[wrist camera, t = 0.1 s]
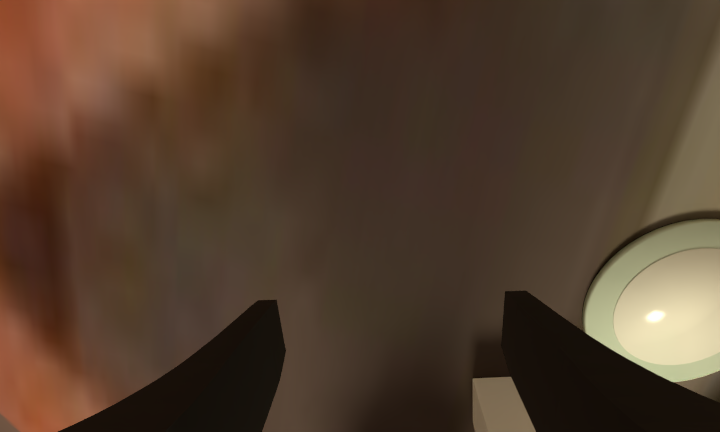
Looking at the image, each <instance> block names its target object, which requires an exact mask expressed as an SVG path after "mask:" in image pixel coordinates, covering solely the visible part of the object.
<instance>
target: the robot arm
mask: <svg viewBox="0 0 720 432" xmlns="http://www.w3.org/2000/svg"><path fill="white" fill-rule="evenodd" d="M501 346H502V349H503V353H504V356H505V360H506V363H507V366H508V369H509V372H510V375H511V378H512V380H513V382H514V384H515V387H516V389H517V391H518V393H519V396H520V398H521V400H522V402H523V404H524V407H525V409H526V411H527V413H528V415H529V418H530V420H531V422H532V424H533V426H534V428H535V431H536V432H720V403H719V402H716V401H714V400H712V399H709V398H707V397H704V396H702V395H700V394H697V393H695V392H693V391H691V390H689V389H687V388H684V387H682V386H680V385H678V384H676V383H674V382H671V381H669V380H667V379H665V378H663V377H661V376H659V375H657V374H655V373H653V372H651V371H649V370H647V369H646V368H644V367H642V366H640V365H638V364H636V363H634V362H633V361H631V360H629V359H627V358H625V357H623V356H622V355H620V354H618V353H617V352H615V351H613V350H611V349H610V348H608V347H607V346H605V345H603V344H602V343H600V342H599V341H597V340H595V339H594V338H592V337H591V336H589V335H588V334H586V333H585V332H583V331H582V330H580V329H579V328H577V327H576V326H574V325H573V324H572V323H570V322H569V321H567V320H566V319H564V318H563V317H562V316H560V315H559V314H557V313H556V312H555V311H553V310H552V309H551V308H549V307H548V306H547V305H545V304H544V303H542V302H541V301H540V300H538V299H537V298H536V297H534V296H533V295H531V294H530V293H528V292H527V291H505V301H504V315H503V328H502V342H501ZM285 352H286V350H285V344H284V339H283V333H282V328H281V322H280V317H279V311H278V306H277V300H258V301H257V302H256V303H254V304H253V305H252V306H251V307H249V308H248V309H247V310H246V311H245V312H244V313H243V314H241V315H240V316H239V317H238V318H237V319H236V320H235V321H233V322H232V323H231V324H230V325H229V326H228V327H226V328H225V329H224V330H223V331H222V332H221V333H219V334H218V335H217V336H216V337H215V338H214V339H212V340H211V341H210V342H208V343H207V344H206V345H205V346H203V347H202V348H201V349H200V350H198V351H197V352H196V353H194V354H193V355H192V356H191V357H189V358H188V359H187V360H185V361H184V362H183V363H181V364H180V365H178V366H177V367H175V368H174V369H173V370H171V371H169V372H168V373H166V374H165V375H163V376H162V377H160V378H159V379H157V380H156V381H154V382H153V383H151V384H149V385H148V386H146V387H144V388H142V389H141V390H139V391H137V392H135V393H134V394H132V395H130V396H129V397H127V398H125V399H123V400H122V401H120V402H118V403H116V404H114V405H112V406H111V407H109V408H107V409H105V410H103V411H101V412H99V413H97V414H95V415H93V416H91V417H89V418H87V419H84V420H82V421H80V422H78V423H76V424H74V425H72V426H70V427H67V428H65V429H63V430H61V431H58V432H262V430H263V427H264V424H265V421H266V419H267V416H268V413H269V410H270V407H271V404H272V401H273V398H274V396H275V393H276V390H277V387H278V384H279V381H280V376H281V372H282V367H283V362H284V357H285Z"/></svg>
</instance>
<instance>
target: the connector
mask: <svg viewBox="0 0 720 432" xmlns="http://www.w3.org/2000/svg"><path fill="white" fill-rule="evenodd" d="M473 426H474V430H475V432H536V431H535V428H534V426H533V424H532V422H531V420H530V418H529V415H528V413H527V411H526V409H525V407H524V404H523V402H522V400H521V398H520V396H519V393H518V391H517V389H516V387H515V384H514V382H513V380H512V378H511V377H494V378H473Z"/></svg>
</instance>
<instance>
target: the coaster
mask: <svg viewBox="0 0 720 432" xmlns="http://www.w3.org/2000/svg"><path fill="white" fill-rule="evenodd" d="M582 323H583V330H584V332H585V333H586V334H588V335H589V336H591V337H592V338H594V339H595V340H597V341H599V342H600V343H602V344H603V345H605V346H607V347H608V348H610V349H611V350H613V351H615V352H617V353H618V354H620V355H622V356H623V357H625V358H627V359H629V360H631V361H633V362H634V363H636V364H638V365H640V366H642V367H644V368H646V369H647V370H649V371H651V372H653V373H655V374H657V375H659V376H661V377H663V378H665V379H667V380H669V381H671V382H679V381H686V380H691V379H695V378H699V377H703V376H706V375H709V374H712V373H714V372H717V371H719V370H720V219H695V220H687V221H682V222H678V223H674V224H670V225H667V226H664V227H661V228H658V229H656V230H653V231H651V232H649V233H647V234H645V235H643V236H641V237H639V238H638V239H636V240H634V241H633V242H631V243H629V244H628V245H627V246H625V247H624V248H623V249H621V250H620V251H619V252H618V253H617V254H615V255H614V256H613V257H612V258H611V259H610V260H609V261H608V262H607V263H606V264H605V265H604V267H603V268H602V269H601V270H600V271H599V273H598V274H597V276H596V277H595V279H594V280H593V282H592V284H591V286H590V288H589V290H588V292H587V295H586V298H585V301H584V306H583V312H582Z"/></svg>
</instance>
